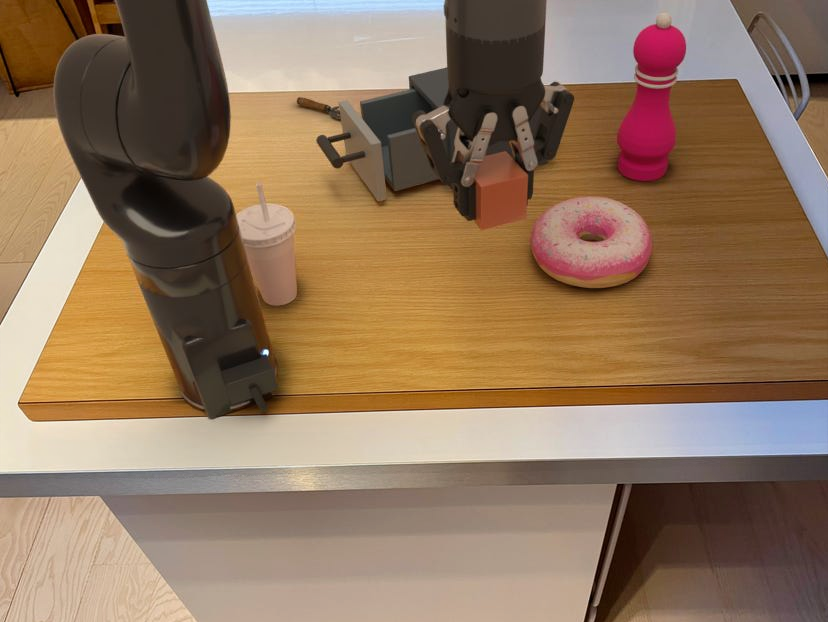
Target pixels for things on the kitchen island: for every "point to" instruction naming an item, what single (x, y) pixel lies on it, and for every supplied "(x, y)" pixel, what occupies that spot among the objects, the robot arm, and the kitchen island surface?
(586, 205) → the donut
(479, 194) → the block
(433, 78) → the cabinet
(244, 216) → the smoothie
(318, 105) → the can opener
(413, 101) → the drawer
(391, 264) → the kitchen island surface
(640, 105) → the pepper mill
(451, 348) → the kitchen island surface
